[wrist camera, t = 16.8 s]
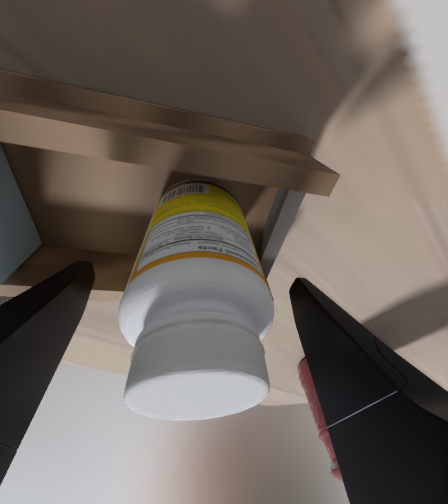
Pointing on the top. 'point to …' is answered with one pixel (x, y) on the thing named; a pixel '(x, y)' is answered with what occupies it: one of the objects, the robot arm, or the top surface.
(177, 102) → the top surface
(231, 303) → the supplement bottle
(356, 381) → the robot arm
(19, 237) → the block
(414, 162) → the top surface
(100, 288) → the wooden tray
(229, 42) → the top surface
